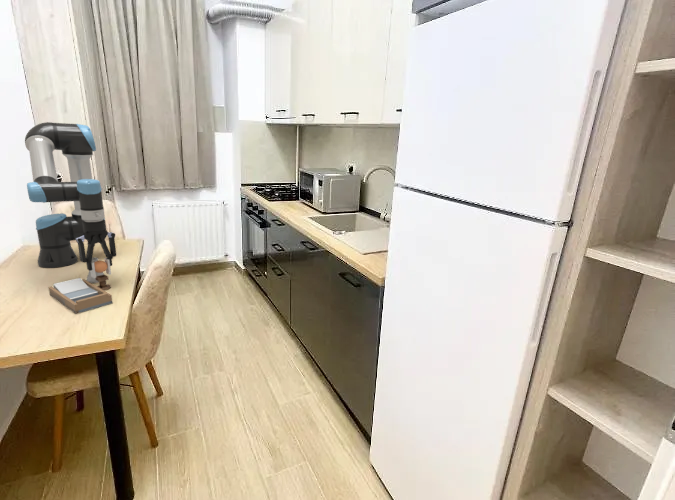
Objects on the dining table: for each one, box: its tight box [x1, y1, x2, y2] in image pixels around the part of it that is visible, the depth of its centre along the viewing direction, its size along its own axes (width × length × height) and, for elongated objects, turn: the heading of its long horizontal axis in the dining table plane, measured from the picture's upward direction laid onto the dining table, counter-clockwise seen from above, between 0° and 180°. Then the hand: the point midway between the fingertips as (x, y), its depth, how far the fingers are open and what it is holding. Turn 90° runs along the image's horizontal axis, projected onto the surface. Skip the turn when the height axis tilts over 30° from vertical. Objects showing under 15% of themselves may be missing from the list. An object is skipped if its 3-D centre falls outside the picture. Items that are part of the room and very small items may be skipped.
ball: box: [94, 259, 107, 273], centre depth 145 cm, size 5×5×5 cm
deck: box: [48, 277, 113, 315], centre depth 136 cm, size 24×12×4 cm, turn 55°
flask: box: [85, 257, 105, 284], centre depth 154 cm, size 7×7×10 cm
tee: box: [96, 274, 111, 291], centre depth 147 cm, size 5×5×5 cm
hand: (101, 275), depth 146 cm, fingers closed on ball, 5 cm apart
